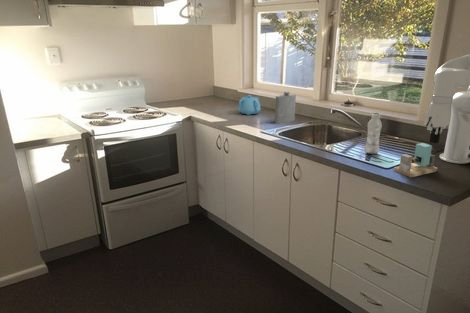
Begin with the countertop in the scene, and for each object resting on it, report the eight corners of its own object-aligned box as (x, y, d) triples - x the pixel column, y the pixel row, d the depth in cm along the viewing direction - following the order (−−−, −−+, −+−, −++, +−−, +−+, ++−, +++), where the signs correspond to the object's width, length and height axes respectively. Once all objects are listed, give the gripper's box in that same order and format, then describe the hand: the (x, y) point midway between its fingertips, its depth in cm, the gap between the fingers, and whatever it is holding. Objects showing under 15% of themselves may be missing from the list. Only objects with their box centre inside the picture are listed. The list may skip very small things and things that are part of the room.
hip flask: (292, 119, 250) (293, 90, 243) (296, 120, 247) (297, 91, 240) (274, 122, 242) (274, 92, 235) (277, 124, 239) (279, 93, 232)
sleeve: (419, 161, 161) (422, 142, 159) (428, 164, 158) (432, 145, 155) (413, 163, 160) (416, 144, 157) (422, 166, 156) (425, 147, 153)
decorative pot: (235, 115, 264) (235, 96, 260) (241, 110, 279) (241, 92, 274) (257, 116, 260) (258, 97, 256) (262, 111, 275) (262, 93, 270)
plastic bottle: (373, 156, 176) (378, 115, 170) (361, 153, 182) (366, 113, 175) (381, 154, 180) (386, 113, 174) (369, 150, 185) (374, 111, 179)
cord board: (418, 164, 165) (421, 147, 163) (437, 171, 158) (440, 153, 155) (393, 170, 159) (395, 153, 156) (410, 177, 151) (413, 159, 149)
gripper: (445, 97, 159) (437, 138, 165) (421, 99, 153) (414, 142, 158) (462, 100, 152) (453, 142, 158) (438, 102, 146) (429, 146, 152)
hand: (433, 142), depth 158 cm, fingers closed
